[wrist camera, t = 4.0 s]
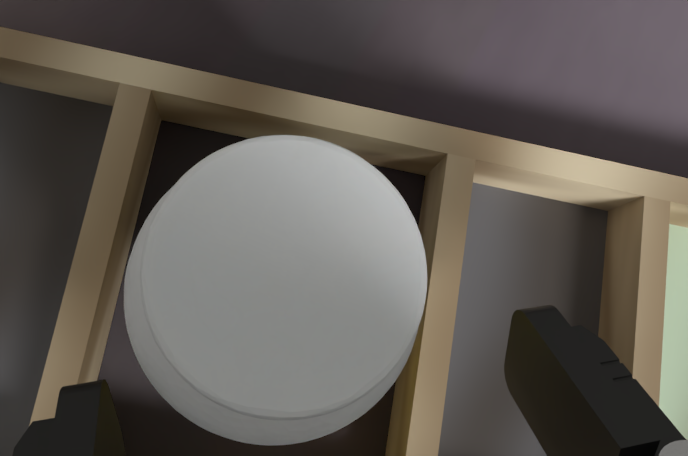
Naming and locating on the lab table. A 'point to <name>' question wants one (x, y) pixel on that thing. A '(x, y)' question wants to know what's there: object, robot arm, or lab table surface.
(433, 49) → the lab table surface
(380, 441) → the lab table surface
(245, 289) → the supplement bottle
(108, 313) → the wooden compartment tray
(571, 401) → the robot arm
